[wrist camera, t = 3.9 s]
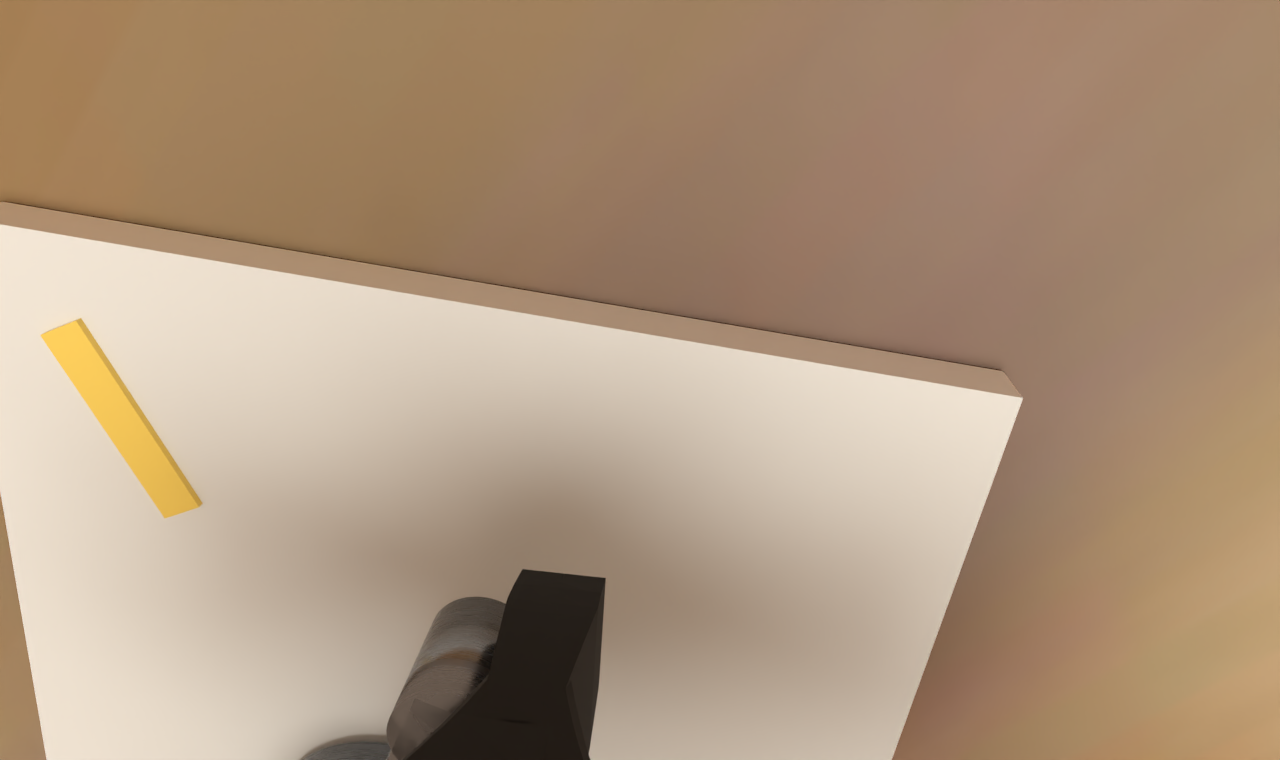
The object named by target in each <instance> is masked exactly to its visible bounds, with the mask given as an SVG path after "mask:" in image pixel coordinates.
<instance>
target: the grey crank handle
mask: <svg viewBox="0 0 1280 760" xmlns="http://www.w3.org/2000/svg"><path fill="white" fill-rule="evenodd" d="M505 605H506V604H505V603H503V602H501V601H498V600H495V599H491V598H486V597H465V598H461V599H458V600H455V601H453V602H451V603H449V604H447V605H446V606H444V607H443V608H442V609H441V610H440V611H439V612H438V614H437V615H436V617H435V618H434V620H433V623H432V625H431V627H430V629H429V631H428V634H427V636H426V638H425V640H424V642H423V645H422V647H421V649H420V651H419V654H418V656H417V658H416V660H415V662H414V665H413V667H412V669H411V671H410V673H409V676H408V678H407V680H406V682H405V685H404V687H403V689H402V691H401V693H400V696H399V698H398V700H397V702H396V704H395V707H394V709H393V711H392V713H391V715H390V718H389V720H388V723H387V729H386V734H387V741H388V743H382V742H365V741H362V742H348V743H342V744H337V745H333V746H330V747H326V748H323V749H321V750H318V751H316V752H314V753H312V754H310V755H309V756H307V757H305V758H304V759H302V760H402V759H404V758H405V757H406V756H407V755H408V754H410V753H411V752H412V751H413V750H414V749H415V748H416V747H417V746H418V745H420V744H421V743H422V742H423V741H424V740H425V739H426V738H427V737H428V736H429V735H430V734H431V733H433V732H434V731H435V730H436V729H437V728H438V727H439V726H440V725H441V724H442V723H443V722H444V721H445V720H446V719H447V718H448V717H449V716H450V715H451V714H452V713H453V712H454V711H455V710H456V709H457V708H458V707H459V706H460V705H461V704H462V703H463V701H464V700H465V699H466V698H467V697H468V696H469V695H470V694H471V693H472V691H473V690H474V689H475V688H476V687H477V686H478V685H479V684H480V683H481V682H482V680H483V679H484V678H485V677H486V676H487V675H488V674H489V670H490V666H491V662H492V658H493V654H494V650H495V646H496V641H497V637H498V633H499V629H500V625H501V621H502V617H503V613H504V609H505Z"/></svg>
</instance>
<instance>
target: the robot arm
mask: <svg viewBox="0 0 1280 760" xmlns="http://www.w3.org/2000/svg"><path fill="white" fill-rule="evenodd" d="M605 583H606V578H602V577H592V576H583V575H574V574H564V573H555V572H545V571H536V570H527V569H522V571H521V573H520V574H519V576H518V578H517V580H516V582H515V583H514V585H513V587H512V590H511V592H510V594H509V596H508V598H507V602H506V605H505V609H504V613H503V617H502V621H501V625H500V629H499V633H498V637H497V641H496V646H495V650H494V654H493V658H492V662H491V666H490V670H489V674H488V675H487V676H486V677H485V678H484V679H483V680H482V682H481V683H480V684H479V685H478V686H477V687H476V688H475V689H474V690H473V691H472V693H471V694H470V695H469V696H468V697H467V698H466V699H465V700H464V701H463V703H462V704H461V705H460V706H459V707H458V708H457V709H456V710H455V711H454V712H453V713H452V714H451V715H450V716H449V717H448V718H447V719H446V720H445V721H444V722H443V723H442V724H441V725H440V726H439V727H438V728H437V729H436V730H435V731H434V732H433V733H431V734H430V735H429V736H428V737H427V738H426V739H425V740H424V741H423V742H422V743H421V744H420V745H418V746H417V747H416V748H415V749H414V750H413V751H412V752H411V753H410V754H408V755H407V756H406V757H405V758H404V759H402V760H590V757H589V750H590V743H591V736H592V730H593V723H594V716H595V709H596V702H597V695H598V689H599V677H600V662H601V646H602V630H603V614H604V598H605Z"/></svg>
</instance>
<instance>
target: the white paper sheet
mask: <svg viewBox="0 0 1280 760" xmlns="http://www.w3.org/2000/svg"><path fill="white" fill-rule="evenodd" d="M1022 400H1023V397H1022V396H1021V395H1020V393H1019V392H1018V391H1017V389H1016V388H1015V387H1014V385H1013V384H1012V382H1011V381H1010V380H1009V378H1008V377H1007V376H1006V374H1005V373H1004V372H1003V371H999V370H993V369H987V368H982V367H976V366H970V365H964V364H958V363H952V362H946V361H940V360H934V359H928V358H923V357H917V356H911V355H905V354H899V353H893V352H887V351H881V350H875V349H869V348H864V347H858V346H852V345H846V344H840V343H834V342H828V341H822V340H816V339H810V338H805V337H799V336H793V335H787V334H781V333H775V332H769V331H763V330H757V329H751V328H745V327H740V326H734V325H728V324H722V323H716V322H710V321H704V320H698V319H692V318H686V317H681V316H675V315H669V314H663V313H657V312H651V311H645V310H639V309H633V308H627V307H622V306H616V305H610V304H604V303H598V302H592V301H586V300H580V299H574V298H568V297H563V296H557V295H551V294H545V293H539V292H533V291H527V290H521V289H515V288H509V287H504V286H498V285H492V284H486V283H480V282H474V281H468V280H462V279H456V278H450V277H445V276H439V275H433V274H427V273H421V272H415V271H409V270H403V269H397V268H391V267H386V266H380V265H374V264H368V263H362V262H356V261H350V260H344V259H338V258H332V257H327V256H321V255H315V254H309V253H303V252H297V251H291V250H285V249H279V248H273V247H268V246H262V245H256V244H250V243H244V242H238V241H232V240H226V239H220V238H214V237H208V236H203V235H197V234H191V233H185V232H179V231H173V230H167V229H161V228H155V227H149V226H144V225H138V224H132V223H126V222H120V221H114V220H108V219H102V218H96V217H90V216H85V215H79V214H73V213H67V212H61V211H55V210H49V209H43V208H37V207H31V206H26V205H20V204H14V203H8V202H0V492H1V498H2V504H3V510H4V515H5V521H6V527H7V533H8V539H9V544H10V550H11V556H12V562H13V568H14V573H15V579H16V585H17V591H18V596H19V602H20V608H21V614H22V620H23V625H24V631H25V637H26V643H27V649H28V654H29V660H30V666H31V672H32V678H33V683H34V689H35V695H36V701H37V706H38V712H39V718H40V724H41V730H42V735H43V741H44V747H45V753H46V759H47V760H302V759H304V758H305V757H307V756H309V755H310V754H312V753H314V752H316V751H318V750H321V749H323V748H326V747H330V746H333V745H337V744H342V743H348V742H362V741H365V742H382V743H388V741H387V734H386V729H387V723H388V720H389V718H390V715H391V713H392V711H393V709H394V707H395V704H396V702H397V700H398V698H399V696H400V693H401V691H402V689H403V687H404V685H405V682H406V680H407V678H408V676H409V673H410V671H411V669H412V667H413V665H414V662H415V660H416V658H417V656H418V654H419V651H420V649H421V647H422V645H423V642H424V640H425V638H426V636H427V634H428V631H429V629H430V627H431V625H432V623H433V620H434V618H435V617H436V615H437V614H438V612H439V611H440V610H441V609H442V608H443V607H444V606H446V605H447V604H449V603H451V602H453V601H455V600H458V599H461V598H465V597H486V598H491V599H495V600H498V601H501V602H503V603H505V604H506V602H507V598H508V596H509V594H510V592H511V590H512V587H513V585H514V583H515V582H516V580H517V578H518V576H519V574H520V573H521V571H522V569H527V570H536V571H545V572H555V573H564V574H574V575H583V576H592V577H602V578H606V583H605V598H604V614H603V630H602V646H601V662H600V677H599V689H598V695H597V702H596V709H595V716H594V723H593V730H592V736H591V743H590V750H589V757H590V760H892V757H893V754H894V752H895V749H896V746H897V743H898V741H899V738H900V735H901V732H902V730H903V727H904V724H905V721H906V719H907V716H908V713H909V710H910V708H911V705H912V702H913V699H914V697H915V694H916V691H917V688H918V686H919V683H920V680H921V677H922V675H923V672H924V669H925V666H926V664H927V661H928V658H929V655H930V653H931V650H932V647H933V644H934V642H935V639H936V636H937V633H938V631H939V628H940V625H941V622H942V620H943V617H944V614H945V611H946V609H947V606H948V603H949V600H950V598H951V595H952V592H953V589H954V587H955V584H956V581H957V578H958V576H959V573H960V570H961V567H962V565H963V562H964V559H965V556H966V554H967V551H968V548H969V545H970V543H971V540H972V537H973V534H974V532H975V529H976V526H977V523H978V521H979V518H980V515H981V512H982V510H983V507H984V504H985V501H986V499H987V496H988V493H989V490H990V488H991V485H992V482H993V479H994V477H995V474H996V471H997V468H998V466H999V463H1000V460H1001V457H1002V455H1003V452H1004V449H1005V446H1006V444H1007V441H1008V438H1009V435H1010V433H1011V430H1012V427H1013V424H1014V422H1015V419H1016V416H1017V413H1018V411H1019V408H1020V405H1021V402H1022Z"/></svg>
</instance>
